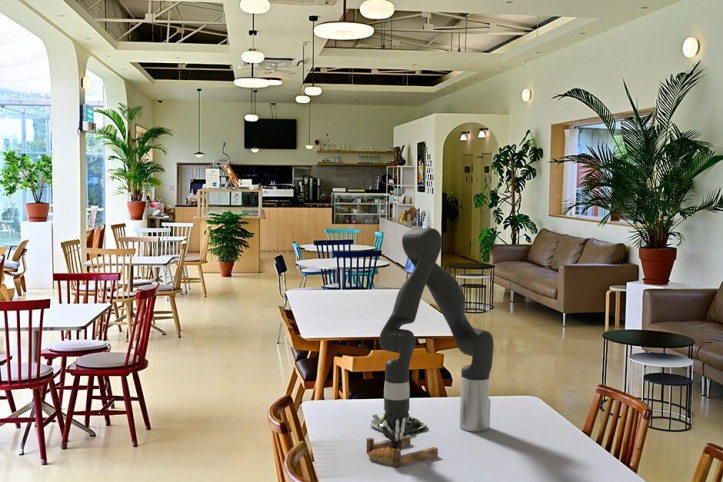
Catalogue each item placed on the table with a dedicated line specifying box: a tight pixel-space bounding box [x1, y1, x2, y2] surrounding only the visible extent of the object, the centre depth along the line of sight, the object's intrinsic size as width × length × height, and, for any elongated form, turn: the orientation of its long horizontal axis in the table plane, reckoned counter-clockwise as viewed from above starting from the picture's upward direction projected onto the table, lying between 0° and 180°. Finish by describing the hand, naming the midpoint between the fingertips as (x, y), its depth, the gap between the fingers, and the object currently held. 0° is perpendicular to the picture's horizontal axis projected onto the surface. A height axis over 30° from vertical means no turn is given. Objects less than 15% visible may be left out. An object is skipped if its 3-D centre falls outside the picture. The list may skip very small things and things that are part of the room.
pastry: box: [367, 447, 402, 466], centre depth 220 cm, size 9×7×4 cm
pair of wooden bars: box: [366, 435, 439, 468], centre depth 225 cm, size 16×14×4 cm
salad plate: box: [369, 412, 427, 436], centre depth 251 cm, size 19×18×5 cm
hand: (396, 451), depth 225 cm, fingers closed
